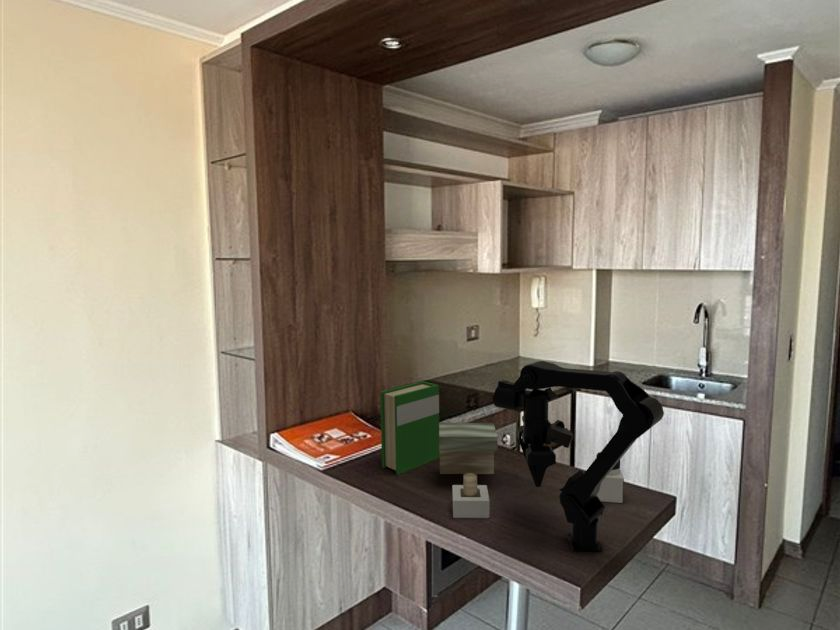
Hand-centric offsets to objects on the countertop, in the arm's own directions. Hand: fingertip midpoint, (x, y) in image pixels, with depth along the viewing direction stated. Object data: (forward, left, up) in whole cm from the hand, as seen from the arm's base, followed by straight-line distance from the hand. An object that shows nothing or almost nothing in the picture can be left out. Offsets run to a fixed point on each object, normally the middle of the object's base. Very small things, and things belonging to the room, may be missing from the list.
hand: (534, 478), depth 132 cm
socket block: (+8, +15, -12) cm, 21 cm away
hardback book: (+38, +32, -12) cm, 51 cm away
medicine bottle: (+16, -22, -12) cm, 30 cm away
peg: (+8, +15, -12) cm, 21 cm away
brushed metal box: (+26, +15, -12) cm, 32 cm away
